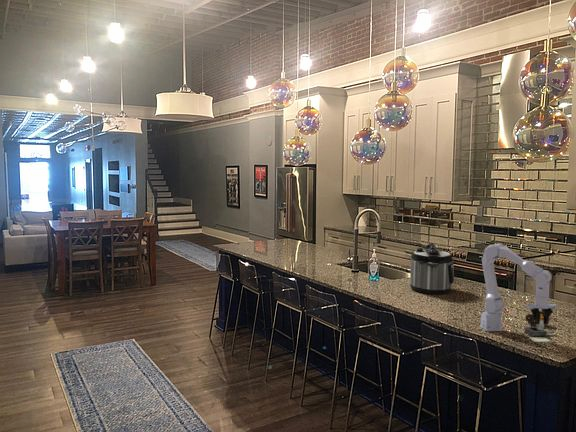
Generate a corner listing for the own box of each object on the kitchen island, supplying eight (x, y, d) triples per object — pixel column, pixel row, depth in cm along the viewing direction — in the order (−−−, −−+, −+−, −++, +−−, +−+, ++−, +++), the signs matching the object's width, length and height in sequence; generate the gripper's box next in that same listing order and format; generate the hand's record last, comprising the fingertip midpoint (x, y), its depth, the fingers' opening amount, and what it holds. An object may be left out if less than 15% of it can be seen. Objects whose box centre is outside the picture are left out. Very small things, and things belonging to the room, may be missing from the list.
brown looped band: (536, 321, 260) (545, 310, 256) (545, 334, 252) (555, 323, 248) (518, 317, 257) (526, 306, 253) (526, 330, 249) (535, 319, 245)
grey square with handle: (532, 337, 234) (532, 331, 233) (524, 332, 240) (524, 327, 240) (557, 337, 235) (558, 331, 234) (549, 332, 242) (549, 326, 241)
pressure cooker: (438, 298, 305) (440, 248, 302) (400, 289, 325) (401, 243, 322) (461, 289, 326) (462, 243, 322) (423, 282, 346) (425, 239, 343)
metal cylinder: (534, 328, 231) (535, 313, 231) (541, 327, 232) (541, 313, 231) (538, 330, 228) (539, 315, 228) (545, 329, 229) (545, 315, 228)
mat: (534, 342, 227) (534, 341, 227) (528, 338, 232) (528, 337, 232) (550, 341, 228) (551, 341, 228) (544, 338, 233) (544, 337, 233)
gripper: (532, 298, 223) (531, 326, 225) (562, 297, 225) (560, 326, 226) (524, 294, 230) (522, 322, 232) (552, 294, 232) (551, 321, 233)
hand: (540, 323), depth 229 cm, fingers closed on metal cylinder, 3 cm apart
